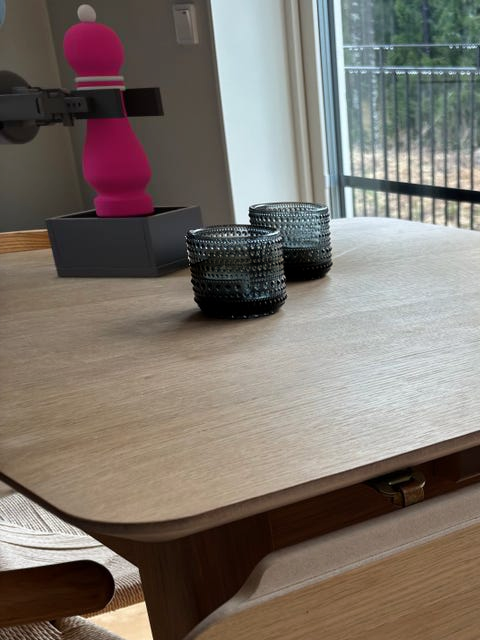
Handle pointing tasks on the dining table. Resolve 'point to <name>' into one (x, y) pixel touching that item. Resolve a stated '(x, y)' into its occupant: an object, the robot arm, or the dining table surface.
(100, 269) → the basin
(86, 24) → the pepper mill
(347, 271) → the dining table surface
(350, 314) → the dining table surface
